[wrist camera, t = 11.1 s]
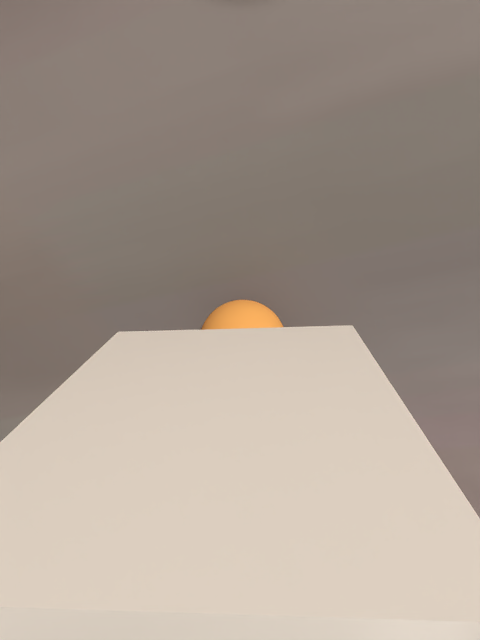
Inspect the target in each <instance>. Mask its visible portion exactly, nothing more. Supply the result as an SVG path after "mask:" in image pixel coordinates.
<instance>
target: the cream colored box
mask: <svg viewBox="0 0 480 640" xmlns="http://www.w3.org/2000/svg"><path fill="white" fill-rule="evenodd" d="M0 640H480V519H479V517H478V515H477V514H476V512H475V511H474V509H473V508H472V506H471V505H470V503H469V502H468V500H467V499H466V497H465V496H464V494H463V493H462V491H461V490H460V488H459V487H458V485H457V484H456V482H455V481H454V479H453V478H452V476H451V474H450V473H449V471H448V470H447V468H446V467H445V465H444V464H443V462H442V461H441V459H440V458H439V456H438V455H437V453H436V452H435V450H434V449H433V447H432V446H431V444H430V443H429V441H428V440H427V438H426V437H425V435H424V433H423V432H422V430H421V429H420V427H419V426H418V424H417V423H416V421H415V420H414V418H413V417H412V415H411V414H410V412H409V411H408V409H407V408H406V406H405V405H404V403H403V402H402V400H401V399H400V397H399V395H398V394H397V392H396V391H395V389H394V388H393V386H392V385H391V383H390V382H389V380H388V379H387V377H386V376H385V374H384V373H383V371H382V370H381V368H380V367H379V365H378V364H377V362H376V361H375V359H374V358H373V356H372V354H371V353H370V351H369V350H368V348H367V347H366V345H365V344H364V342H363V341H362V339H361V338H360V336H359V335H358V333H357V332H356V330H355V329H354V327H353V326H352V325H351V326H314V327H278V328H241V329H205V330H168V331H132V332H117V333H116V334H115V335H114V336H113V337H112V338H111V339H110V340H109V341H108V342H107V343H106V344H105V345H103V346H102V347H101V348H100V349H99V350H98V351H97V352H96V353H95V354H94V355H93V356H92V357H91V358H90V359H89V360H87V361H86V362H85V363H84V364H83V365H82V366H81V367H80V368H79V369H78V370H77V371H76V372H75V373H74V374H73V375H71V376H70V377H69V378H68V379H67V380H66V381H65V382H64V383H63V384H62V385H61V386H60V387H59V388H58V389H57V390H55V391H54V392H53V393H52V394H51V395H50V396H49V397H48V398H47V399H46V400H45V401H44V402H43V403H42V404H41V405H39V406H38V407H37V408H36V409H35V410H34V411H33V412H32V413H31V414H30V415H29V416H28V417H27V418H26V419H25V420H23V421H22V422H21V423H20V424H19V425H18V426H17V427H16V428H15V429H14V430H13V431H12V432H11V433H10V434H9V435H7V436H6V437H5V438H4V439H3V440H2V441H1V442H0Z"/></svg>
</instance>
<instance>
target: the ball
mask: <svg viewBox="0 0 480 640" xmlns="http://www.w3.org/2000/svg"><path fill="white" fill-rule="evenodd" d="M278 327H283V325H282V323H281V322H280V320H279V318H278V317H277V316H276V315H275V314H274V312H273V311H271V310H270V309H269V308H267V307H266V306H264V305H262V304H260V303H258V302H255V301H250V300H235V301H231V302H228V303H225V304H223V305H221V306H220V307H218V308H217V309H215V310H214V311H213V312H212V313H211V314H210V315H209V316H208V318H207V319H206V321H205V322H204V324H203V327H202V329H201V330H205V329H241V328H278Z"/></svg>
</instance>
